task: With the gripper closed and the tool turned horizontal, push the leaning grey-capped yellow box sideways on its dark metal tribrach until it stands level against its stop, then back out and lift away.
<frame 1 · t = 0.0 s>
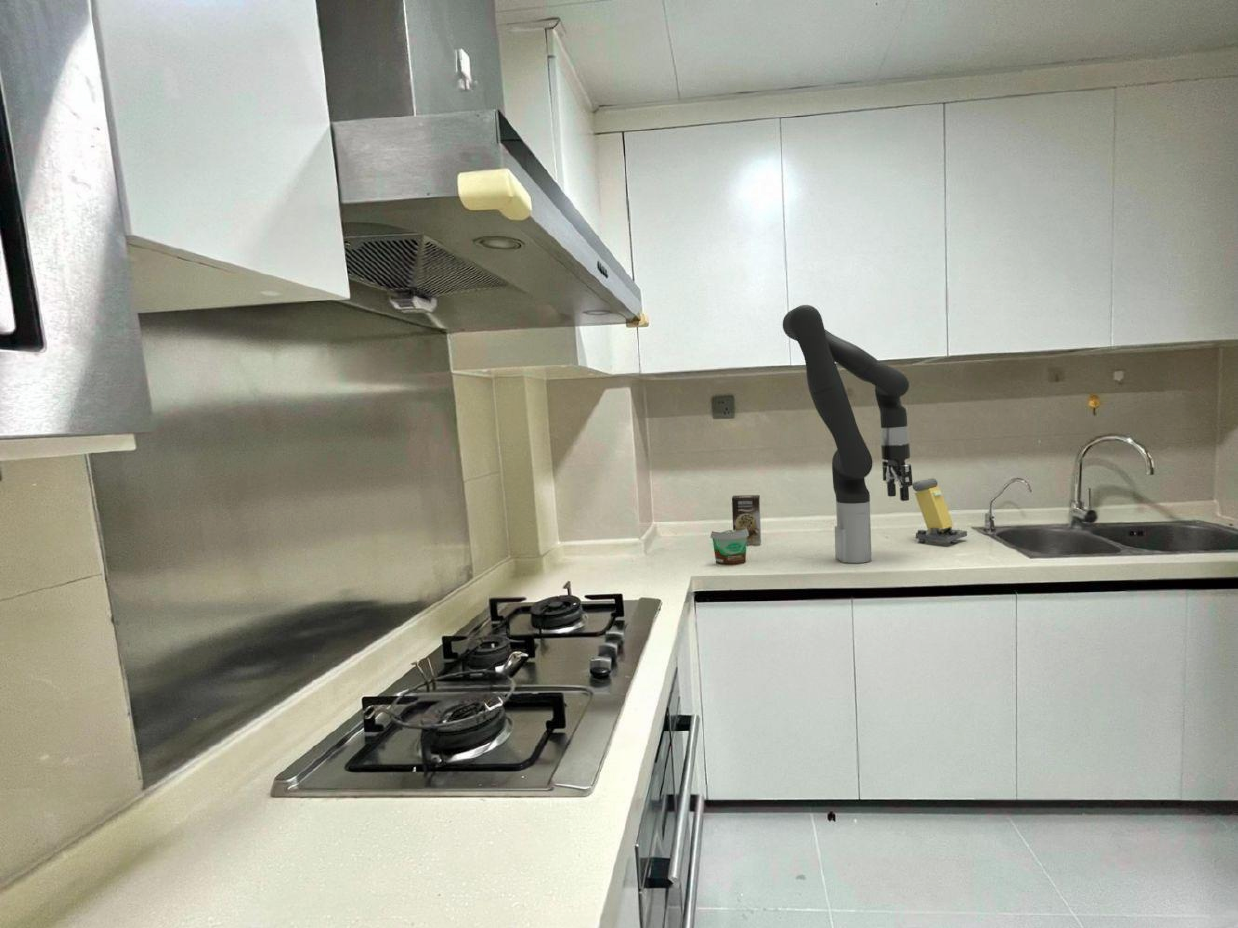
hand: (898, 498, 192), 17 cm above the worktop, tool pointing down, fingers open, 8 cm apart
coffee box: (747, 544, 223), on the worktop
tribrach: (941, 541, 208), on the worktop
grey-capped yellow box: (933, 505, 209), point 11 cm above the worktop, hinge at -20.0°
food container: (735, 563, 198), on the worktop
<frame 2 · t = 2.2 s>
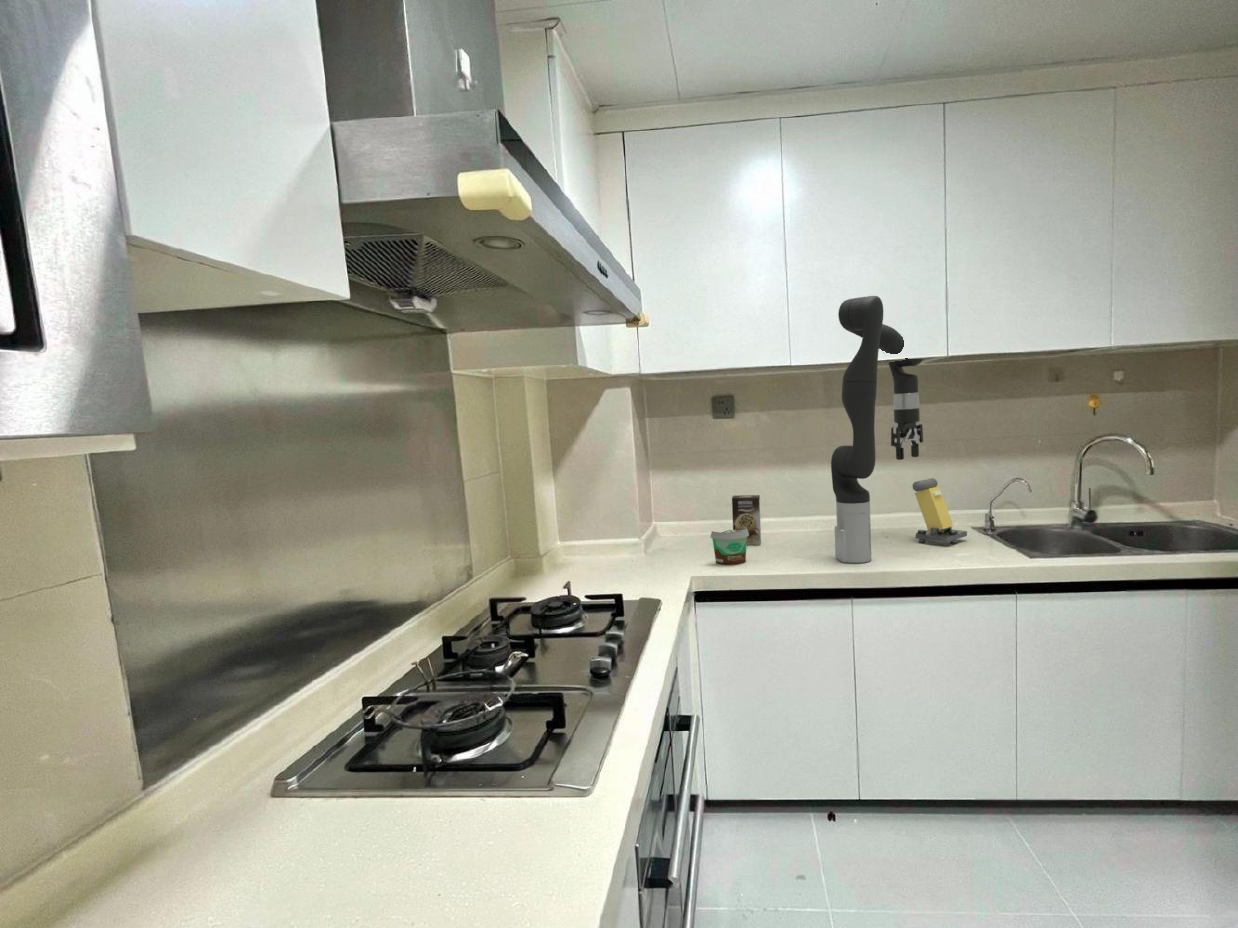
hand: (907, 458, 213), 26 cm above the worktop, tool pointing down, fingers open, 8 cm apart
nothing on the worktop moved.
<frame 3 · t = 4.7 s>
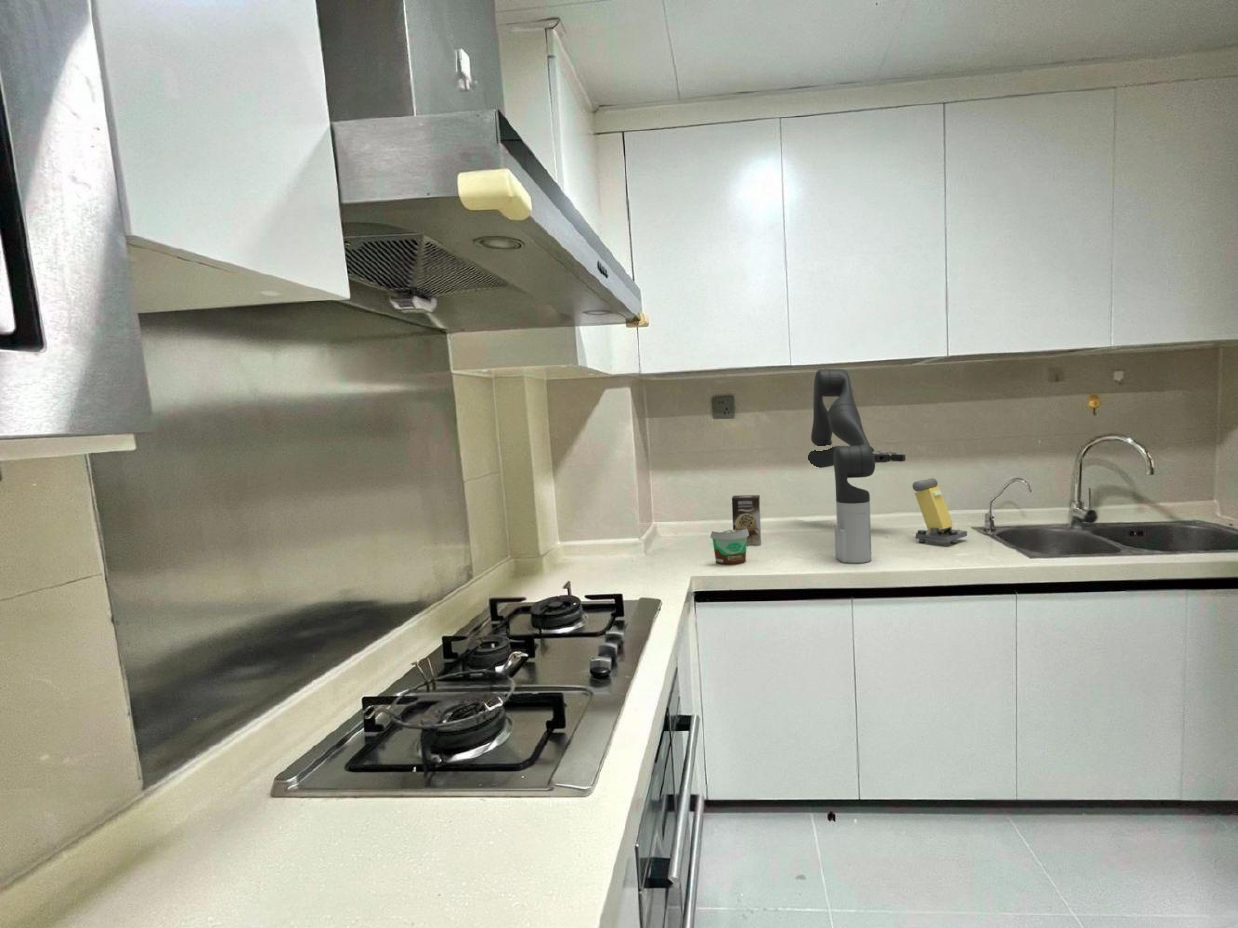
hand: (904, 458, 216), 26 cm above the worktop, tool horizontal, fingers closed
nothing on the worktop moved.
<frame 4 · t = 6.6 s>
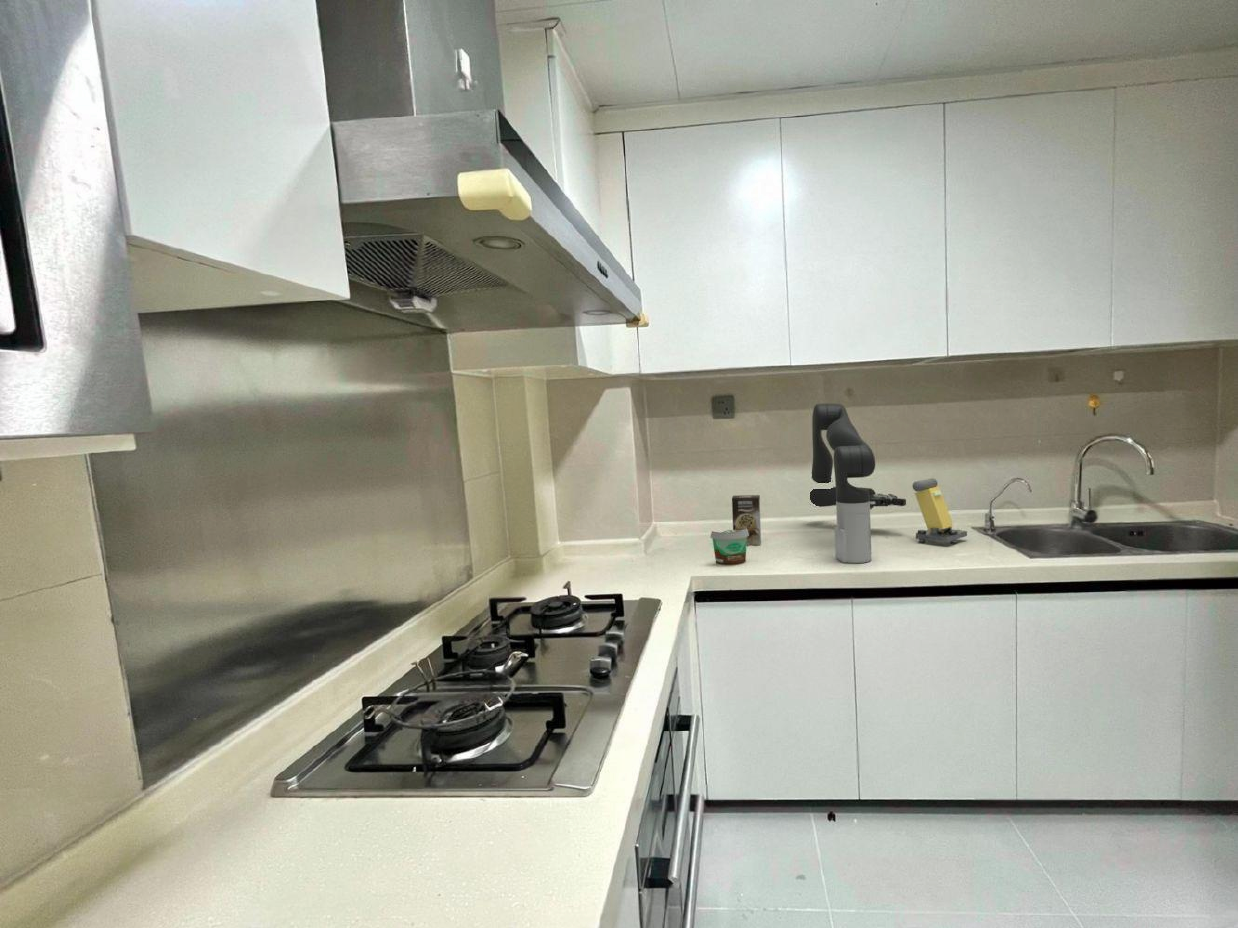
hand: (904, 502, 217), 11 cm above the worktop, tool horizontal, fingers closed
nothing on the worktop moved.
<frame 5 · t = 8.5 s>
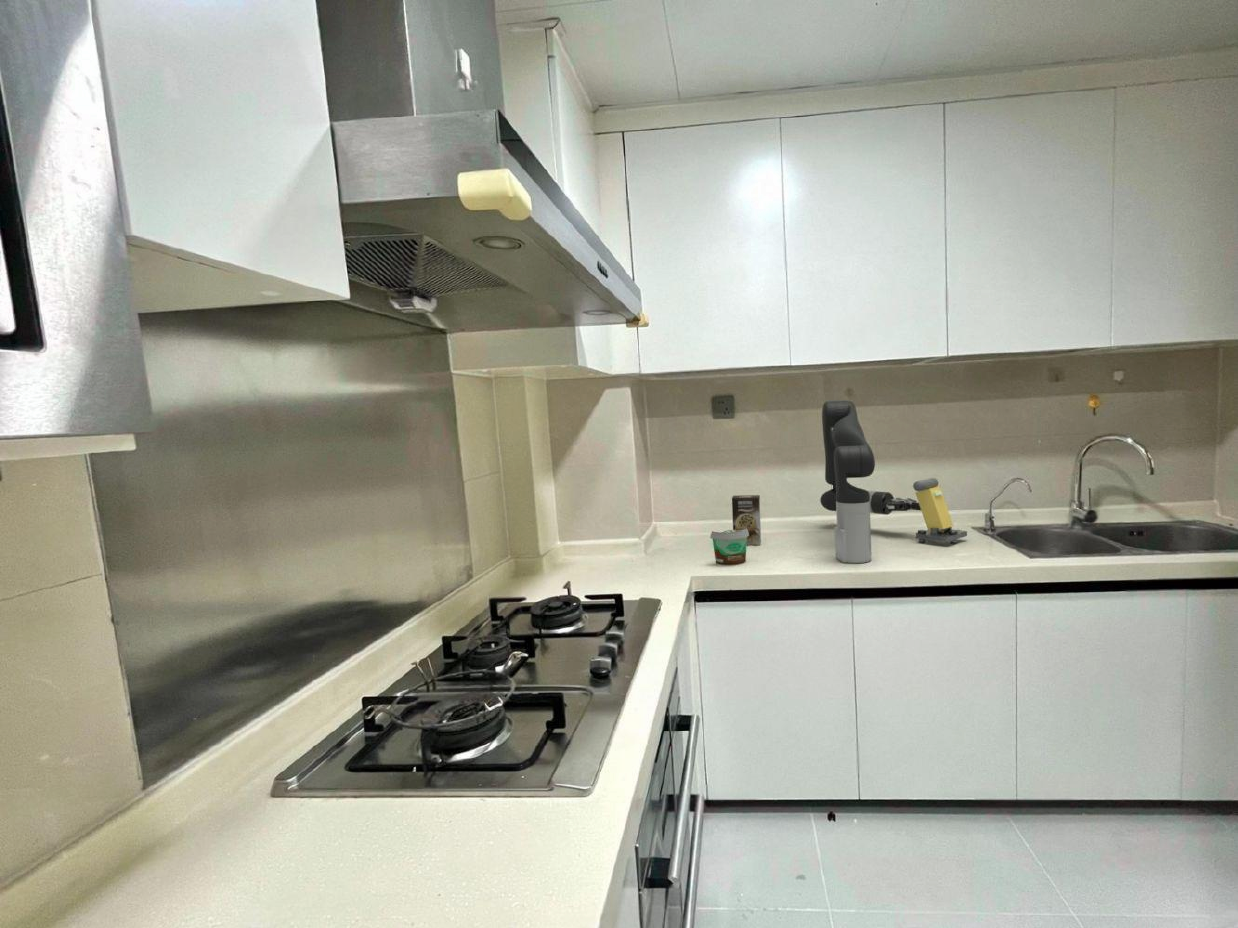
hand: (925, 506, 211), 11 cm above the worktop, tool horizontal, fingers closed
grey-capped yellow box: (933, 505, 209), point 11 cm above the worktop, hinge at -18.9°, touching gripper
everything else where it was.
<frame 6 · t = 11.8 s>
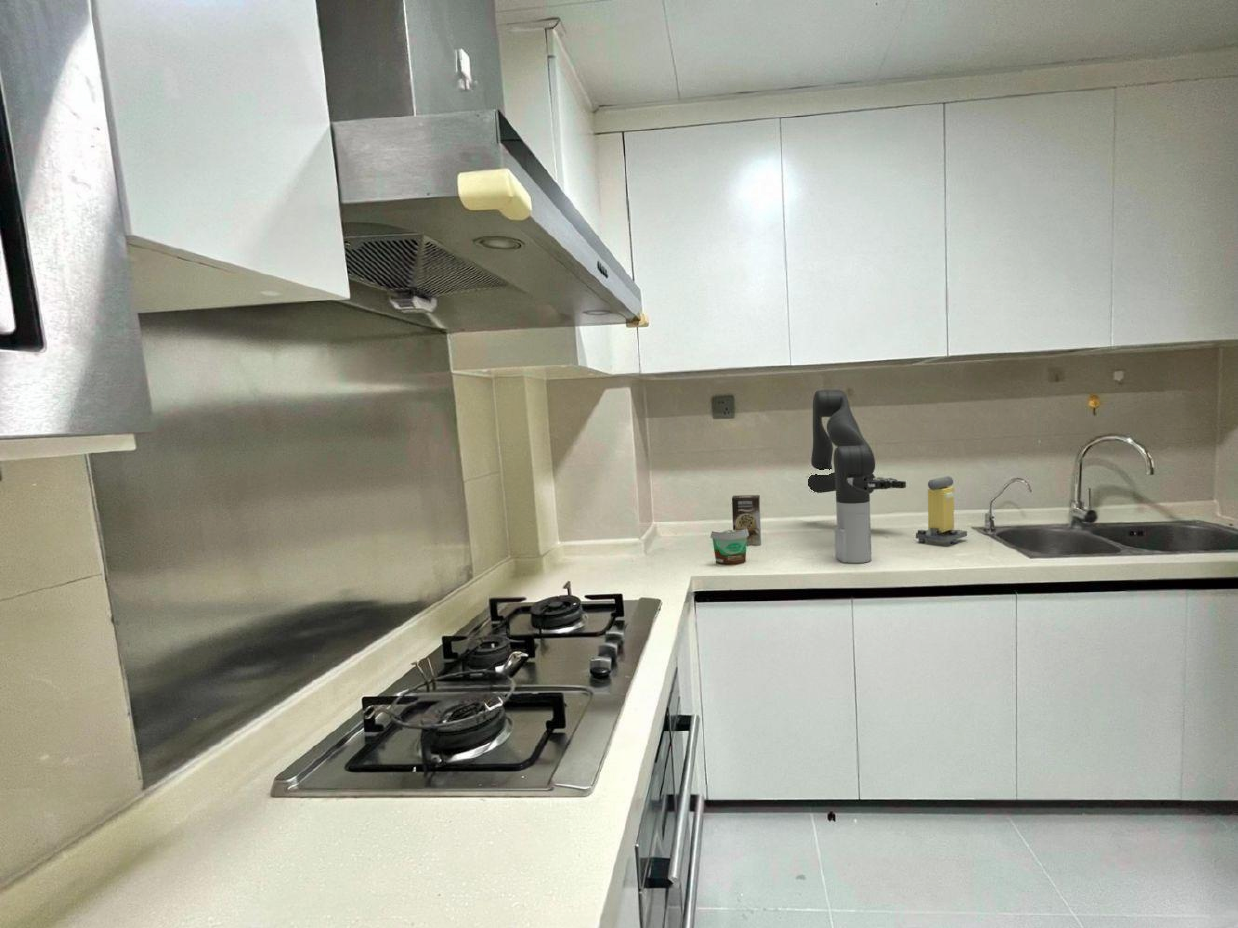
hand: (904, 484, 216), 17 cm above the worktop, tool horizontal, fingers closed
grey-capped yellow box: (941, 504, 207), point 12 cm above the worktop, hinge at 0.3°
everything else where it was.
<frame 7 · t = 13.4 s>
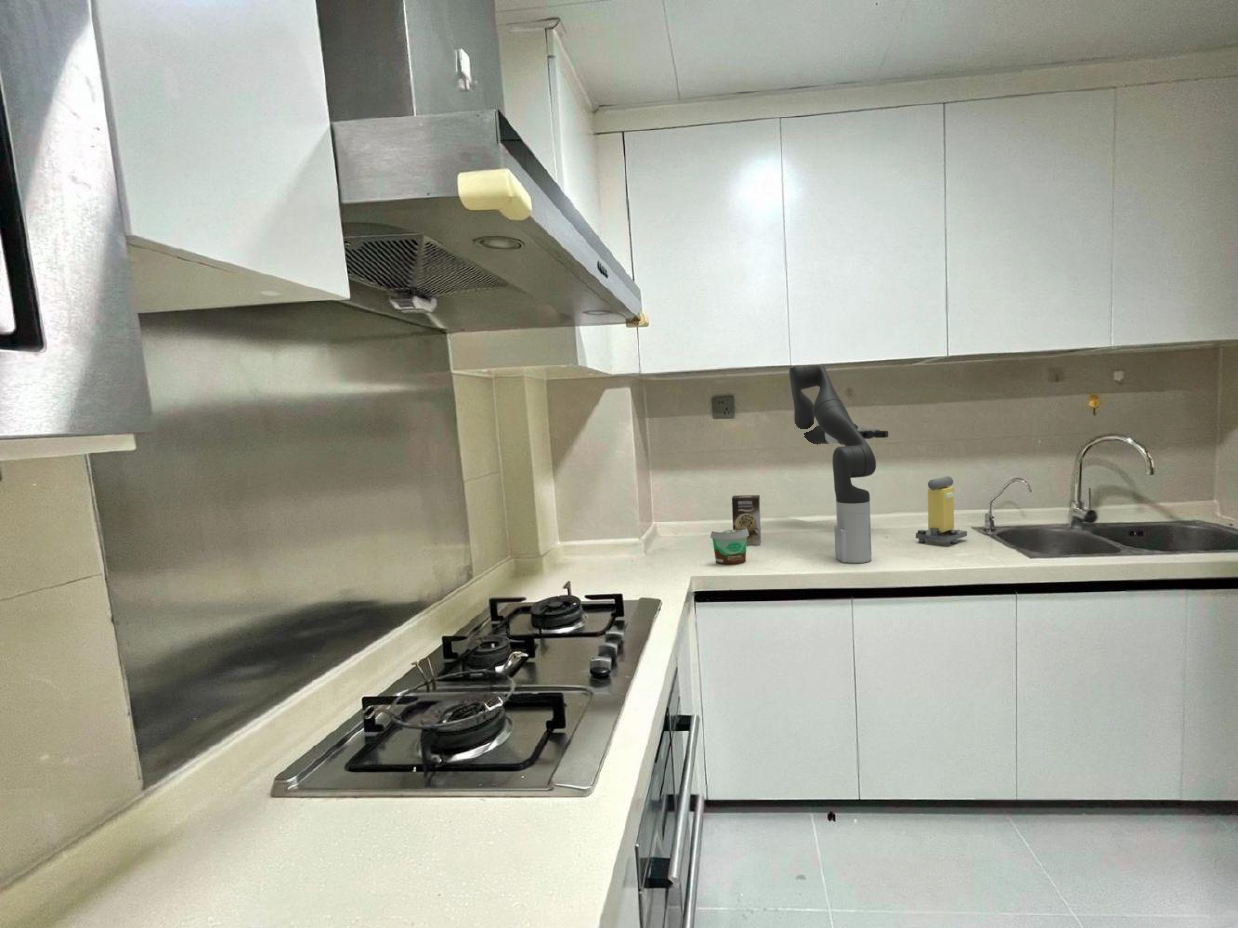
hand: (886, 434, 217), 34 cm above the worktop, tool horizontal, fingers closed
nothing on the worktop moved.
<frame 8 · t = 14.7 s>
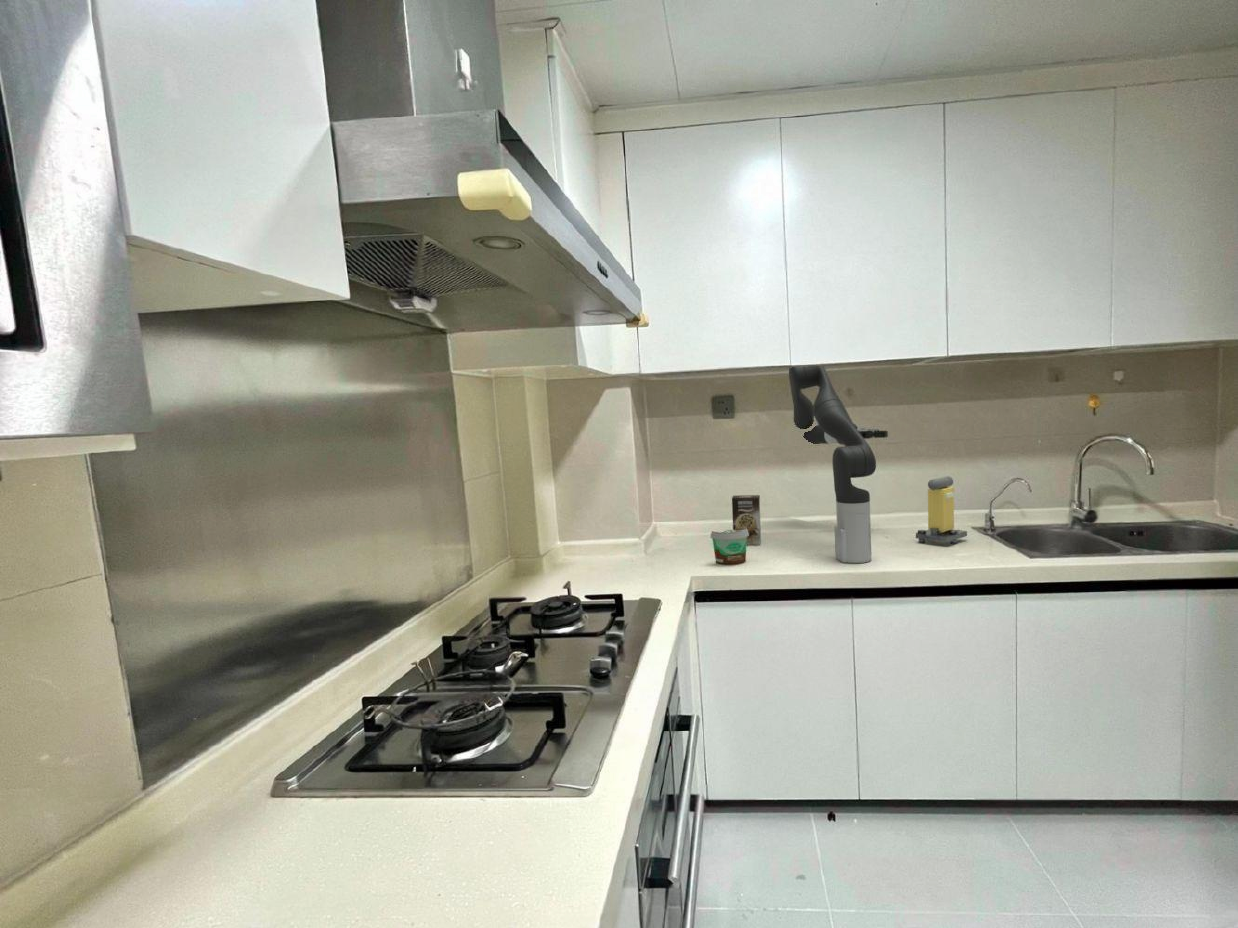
hand: (886, 434, 218), 34 cm above the worktop, tool horizontal, fingers closed
nothing on the worktop moved.
at the end: grey-capped yellow box at +0° (first picture: -20°); coffee box moved 0.2 cm from its start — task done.
